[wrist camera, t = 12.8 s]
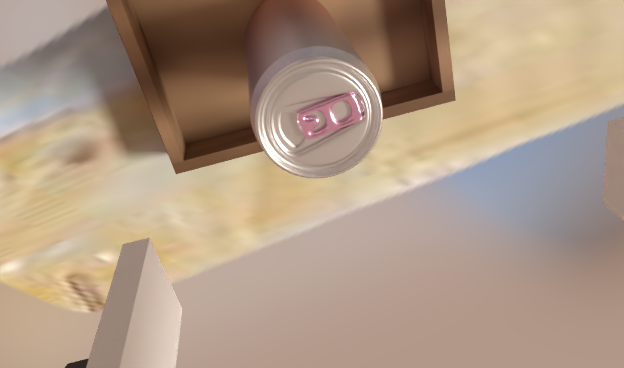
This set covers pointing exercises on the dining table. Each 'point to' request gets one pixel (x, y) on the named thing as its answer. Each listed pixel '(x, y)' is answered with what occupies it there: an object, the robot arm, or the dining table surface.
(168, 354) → the robot arm
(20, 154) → the dining table surface
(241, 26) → the crate
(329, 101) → the beverage can
